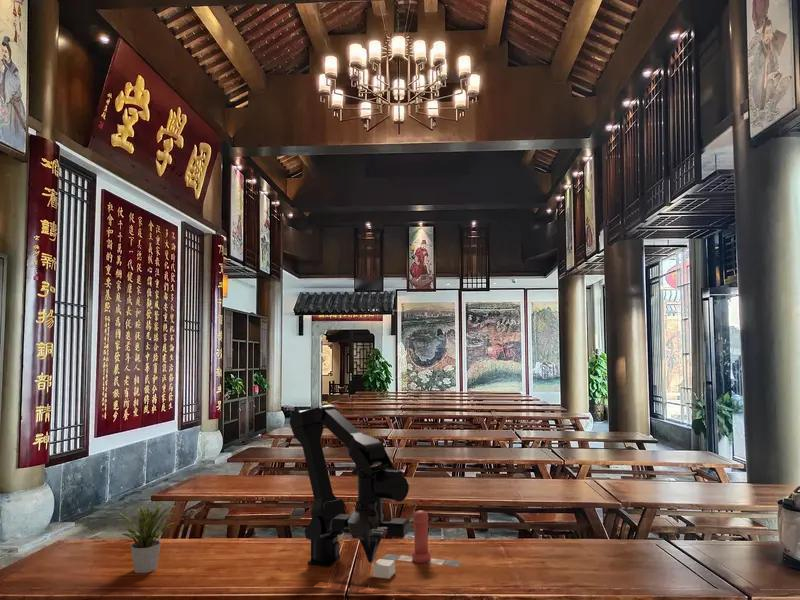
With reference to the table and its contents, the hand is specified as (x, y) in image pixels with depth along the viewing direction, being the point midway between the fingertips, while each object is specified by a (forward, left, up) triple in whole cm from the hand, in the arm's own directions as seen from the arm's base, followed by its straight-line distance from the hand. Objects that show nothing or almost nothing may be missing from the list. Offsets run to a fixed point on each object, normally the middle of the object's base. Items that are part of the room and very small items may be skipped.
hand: (370, 561), depth 149 cm
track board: (+9, +12, -4) cm, 15 cm away
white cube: (+3, 0, -4) cm, 5 cm away
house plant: (-55, -11, -4) cm, 56 cm away
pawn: (+9, +12, -3) cm, 15 cm away
